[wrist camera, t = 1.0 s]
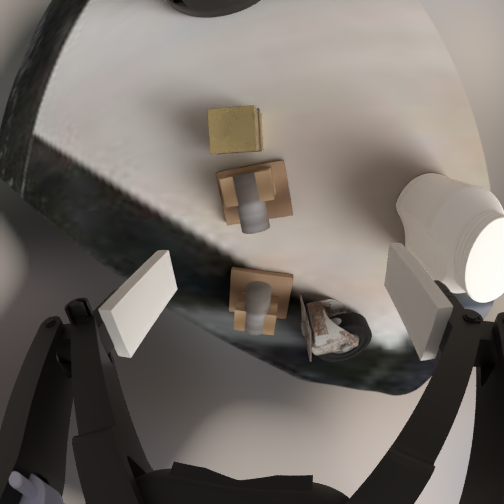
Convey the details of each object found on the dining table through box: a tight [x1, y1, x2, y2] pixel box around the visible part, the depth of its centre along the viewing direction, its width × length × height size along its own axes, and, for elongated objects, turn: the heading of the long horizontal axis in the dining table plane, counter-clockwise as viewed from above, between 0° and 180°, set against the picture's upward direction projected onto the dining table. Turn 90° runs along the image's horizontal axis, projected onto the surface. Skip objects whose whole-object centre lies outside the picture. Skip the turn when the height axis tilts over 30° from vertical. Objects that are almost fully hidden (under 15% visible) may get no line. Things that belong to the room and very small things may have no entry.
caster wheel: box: [300, 294, 372, 362], centre depth 36 cm, size 7×11×10 cm
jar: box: [396, 173, 504, 303], centre depth 24 cm, size 12×10×15 cm
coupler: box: [208, 105, 264, 154], centre depth 27 cm, size 5×5×7 cm
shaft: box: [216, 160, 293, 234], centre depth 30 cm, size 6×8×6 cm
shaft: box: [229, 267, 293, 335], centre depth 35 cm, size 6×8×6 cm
